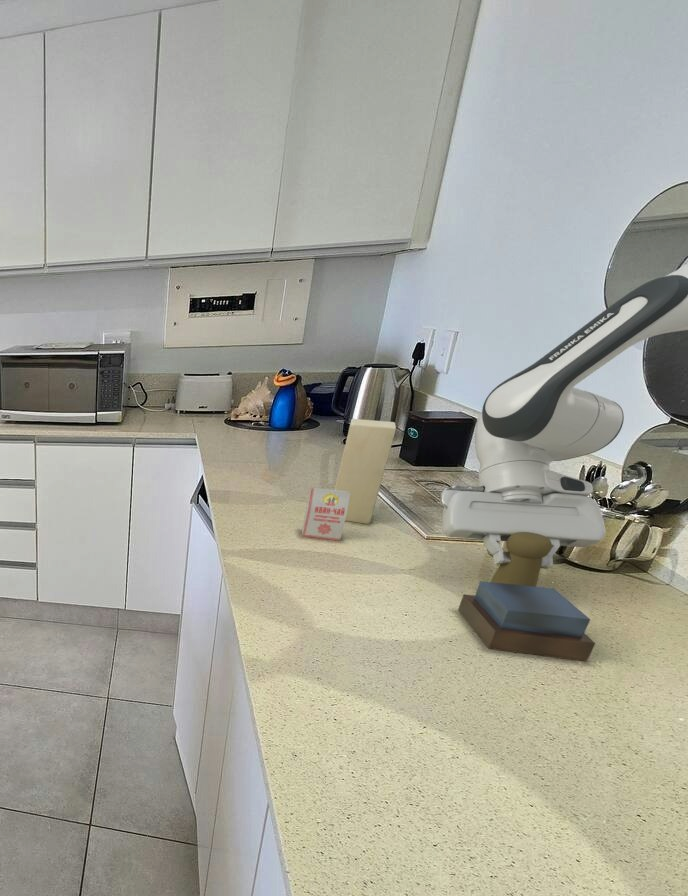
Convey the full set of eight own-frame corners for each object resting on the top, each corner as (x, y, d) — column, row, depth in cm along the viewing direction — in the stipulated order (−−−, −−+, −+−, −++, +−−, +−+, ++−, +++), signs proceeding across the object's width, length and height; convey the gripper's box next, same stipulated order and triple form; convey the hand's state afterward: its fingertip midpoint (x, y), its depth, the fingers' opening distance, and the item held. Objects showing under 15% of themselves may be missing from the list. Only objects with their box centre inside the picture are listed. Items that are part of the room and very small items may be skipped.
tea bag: (301, 529, 123) (311, 485, 119) (338, 534, 120) (349, 488, 116) (302, 536, 120) (312, 490, 116) (340, 540, 117) (351, 494, 113)
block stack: (544, 620, 88) (559, 586, 86) (587, 661, 79) (604, 624, 76) (457, 610, 92) (469, 577, 89) (488, 648, 82) (502, 612, 80)
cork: (534, 594, 95) (559, 533, 91) (533, 608, 91) (559, 546, 87) (486, 583, 99) (508, 524, 95) (483, 597, 95) (506, 536, 91)
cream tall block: (370, 513, 129) (395, 420, 121) (370, 524, 124) (396, 428, 115) (329, 508, 133) (350, 417, 125) (328, 518, 128) (349, 424, 119)
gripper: (449, 476, 97) (454, 552, 93) (605, 484, 91) (619, 566, 86) (432, 492, 103) (436, 564, 98) (578, 501, 96) (590, 579, 92)
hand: (523, 565), depth 92 cm, fingers closed on cork, 4 cm apart
